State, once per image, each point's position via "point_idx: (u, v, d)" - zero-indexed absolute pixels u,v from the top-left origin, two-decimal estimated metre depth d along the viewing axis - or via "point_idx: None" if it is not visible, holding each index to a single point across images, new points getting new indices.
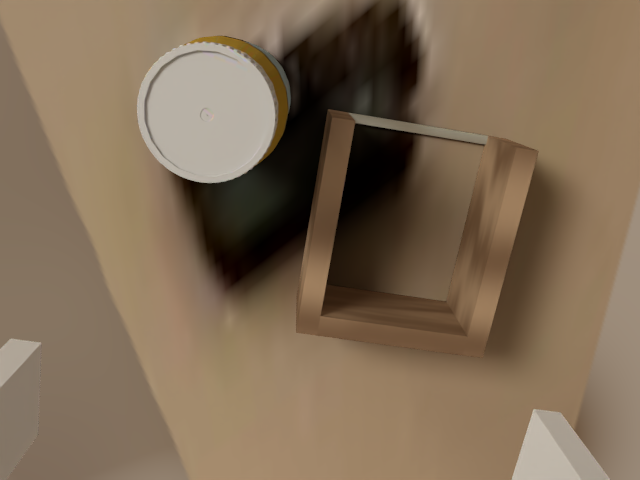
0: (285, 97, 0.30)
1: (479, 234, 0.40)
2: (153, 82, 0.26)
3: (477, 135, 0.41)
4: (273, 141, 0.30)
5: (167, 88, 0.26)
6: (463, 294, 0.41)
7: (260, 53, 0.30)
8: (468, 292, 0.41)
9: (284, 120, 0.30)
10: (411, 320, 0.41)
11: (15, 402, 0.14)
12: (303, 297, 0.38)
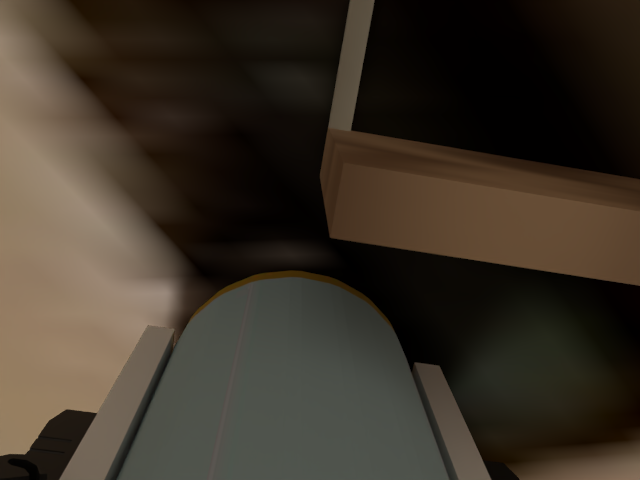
0: None
1: None
2: None
3: None
4: None
5: None
6: None
7: None
8: None
9: None
10: None
11: None
12: None
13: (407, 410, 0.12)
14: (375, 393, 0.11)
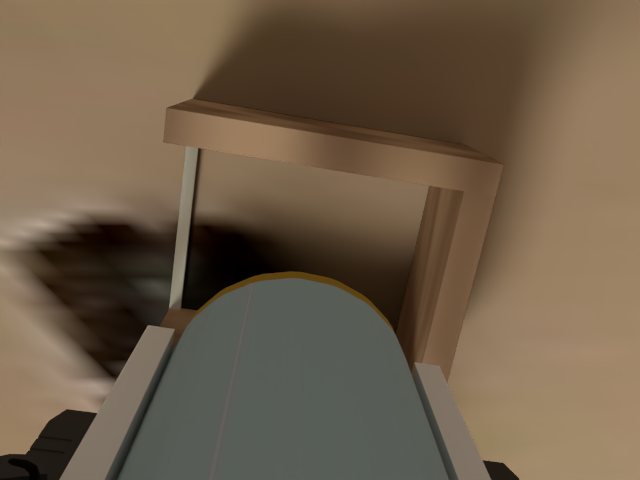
0: None
1: None
2: None
3: None
4: None
5: None
6: None
7: None
8: None
9: None
10: (437, 259, 0.28)
11: None
12: None
13: (407, 412, 0.12)
14: (375, 395, 0.11)
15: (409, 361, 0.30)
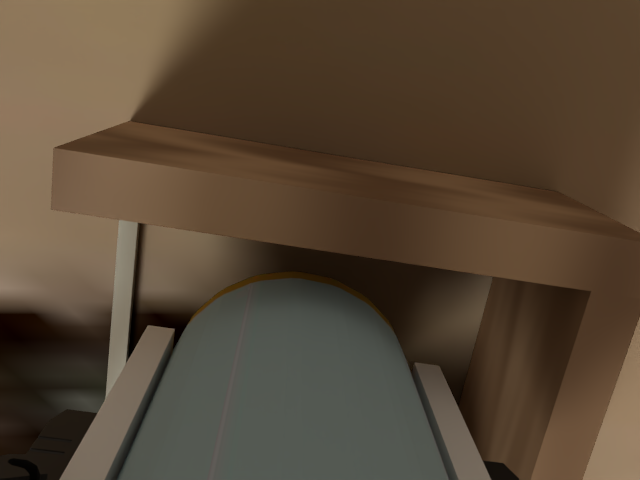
0: None
1: None
2: None
3: None
4: None
5: None
6: None
7: None
8: None
9: None
10: (529, 390, 0.17)
11: None
12: None
13: (407, 411, 0.12)
14: (375, 394, 0.11)
15: None
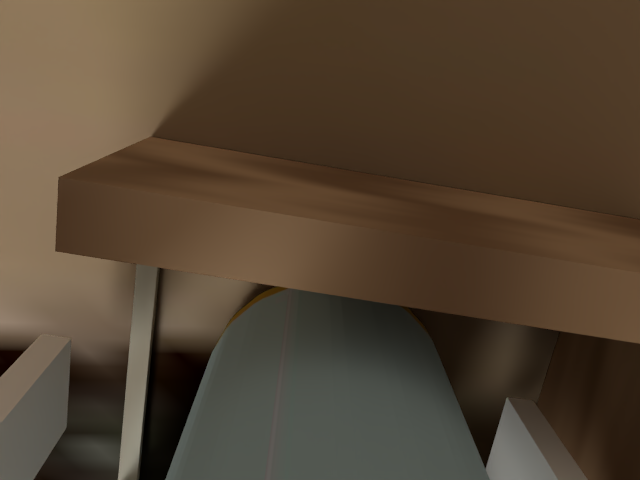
0: None
1: None
2: None
3: None
4: None
5: None
6: None
7: None
8: None
9: None
10: (621, 463, 0.14)
11: (48, 395, 0.14)
12: None
13: (452, 419, 0.12)
14: (421, 401, 0.11)
15: None
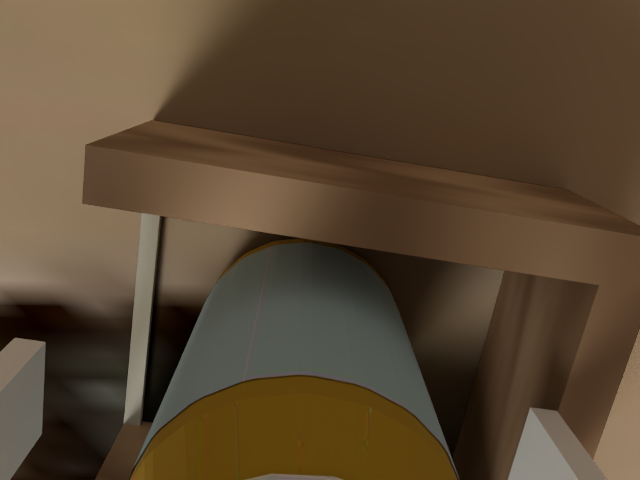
0: (264, 402, 0.10)
1: None
2: None
3: None
4: (387, 455, 0.10)
5: None
6: None
7: (147, 463, 0.11)
8: None
9: (329, 410, 0.10)
10: (538, 382, 0.17)
11: (19, 401, 0.14)
12: None
13: (395, 337, 0.15)
14: (369, 322, 0.15)
15: None
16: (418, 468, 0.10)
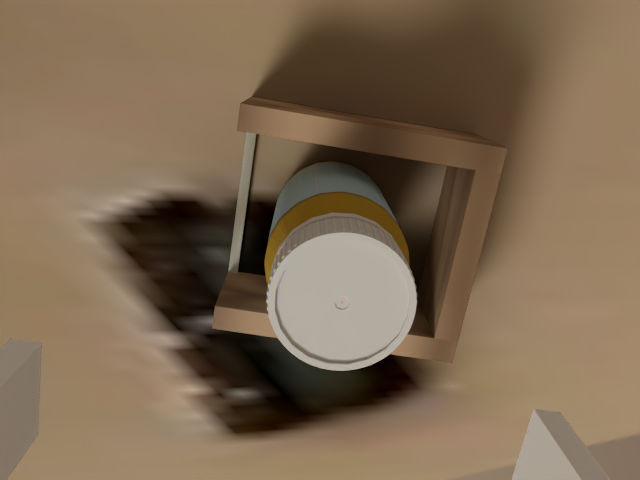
0: (327, 197, 0.27)
1: None
2: (308, 352, 0.25)
3: (247, 132, 0.36)
4: (374, 214, 0.27)
5: (313, 339, 0.24)
6: None
7: (280, 223, 0.27)
8: None
9: (352, 199, 0.27)
10: (454, 227, 0.34)
11: (15, 402, 0.14)
12: (410, 355, 0.35)
13: (380, 196, 0.32)
14: (368, 187, 0.31)
15: (429, 313, 0.36)
16: (386, 221, 0.27)
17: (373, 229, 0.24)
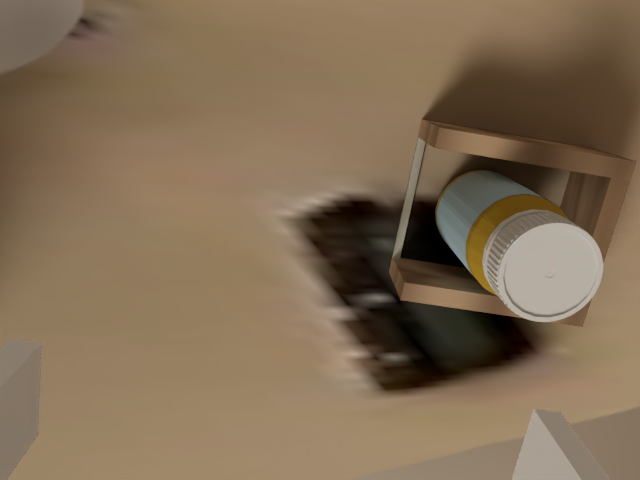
0: (520, 198, 0.37)
1: None
2: (522, 309, 0.34)
3: (417, 147, 0.46)
4: (556, 210, 0.37)
5: (527, 299, 0.34)
6: None
7: (484, 217, 0.37)
8: None
9: (538, 200, 0.37)
10: (586, 221, 0.44)
11: (15, 402, 0.14)
12: None
13: None
14: None
15: None
16: (564, 215, 0.37)
17: (569, 221, 0.34)
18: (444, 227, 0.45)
